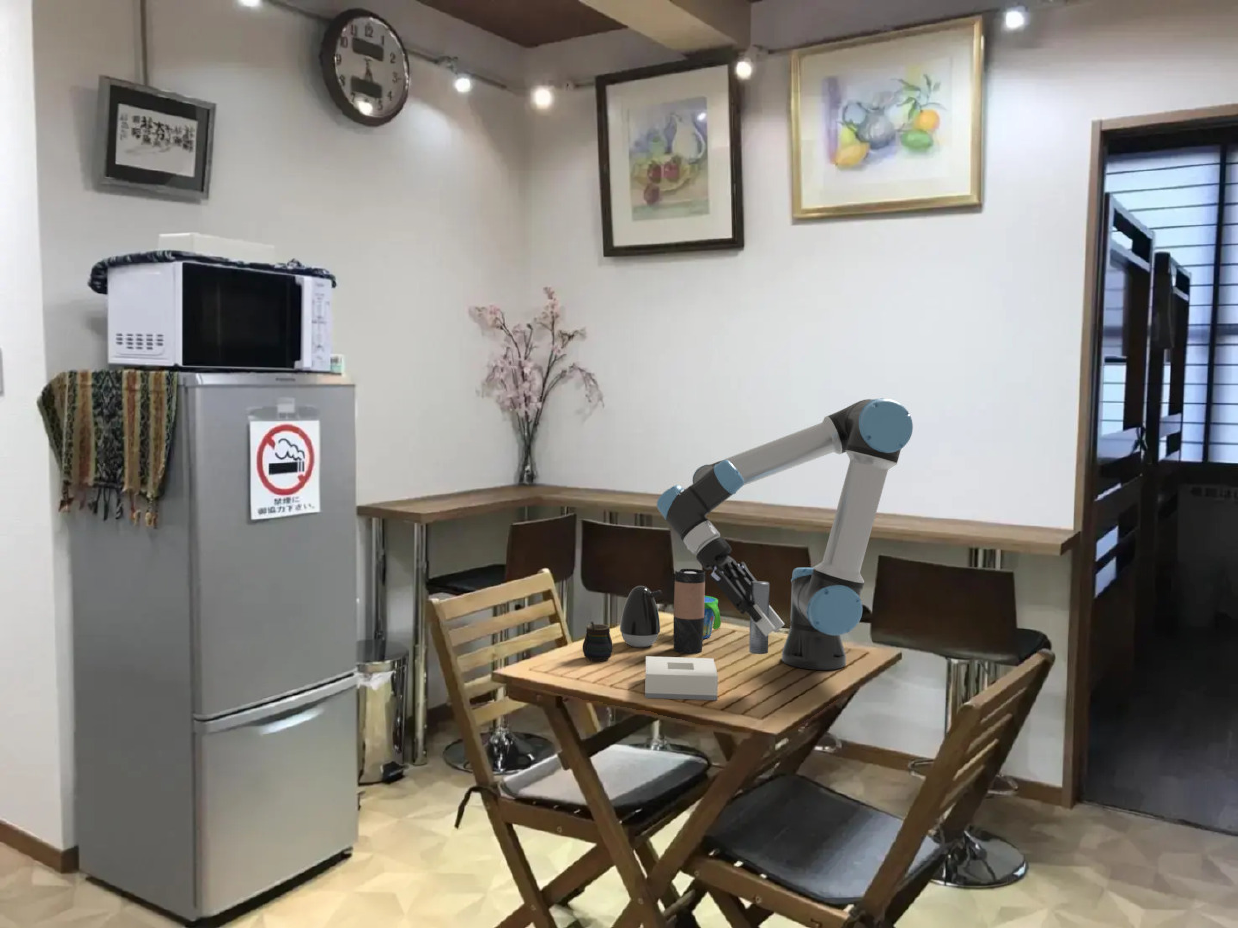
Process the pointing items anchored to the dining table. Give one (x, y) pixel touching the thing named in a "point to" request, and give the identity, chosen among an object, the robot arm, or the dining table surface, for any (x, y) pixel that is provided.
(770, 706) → the dining table surface
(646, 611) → the pump dispenser
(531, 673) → the dining table surface
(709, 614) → the snack cup
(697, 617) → the travel mug
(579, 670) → the dining table surface
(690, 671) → the hole block
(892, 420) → the robot arm
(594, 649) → the mate gourd
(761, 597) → the pin
